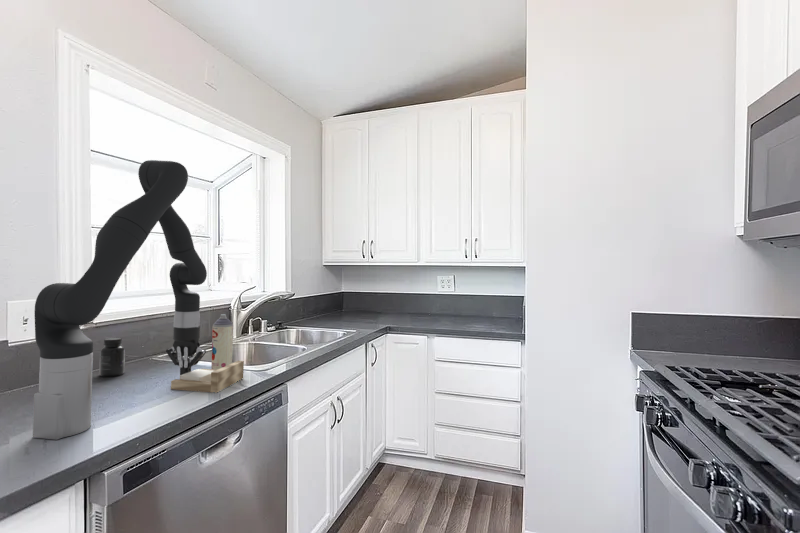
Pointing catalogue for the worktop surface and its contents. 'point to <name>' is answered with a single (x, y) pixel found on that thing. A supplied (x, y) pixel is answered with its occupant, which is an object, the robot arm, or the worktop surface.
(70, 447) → the worktop surface
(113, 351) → the supplement bottle
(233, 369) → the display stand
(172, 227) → the robot arm
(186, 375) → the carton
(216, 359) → the aerosol can
